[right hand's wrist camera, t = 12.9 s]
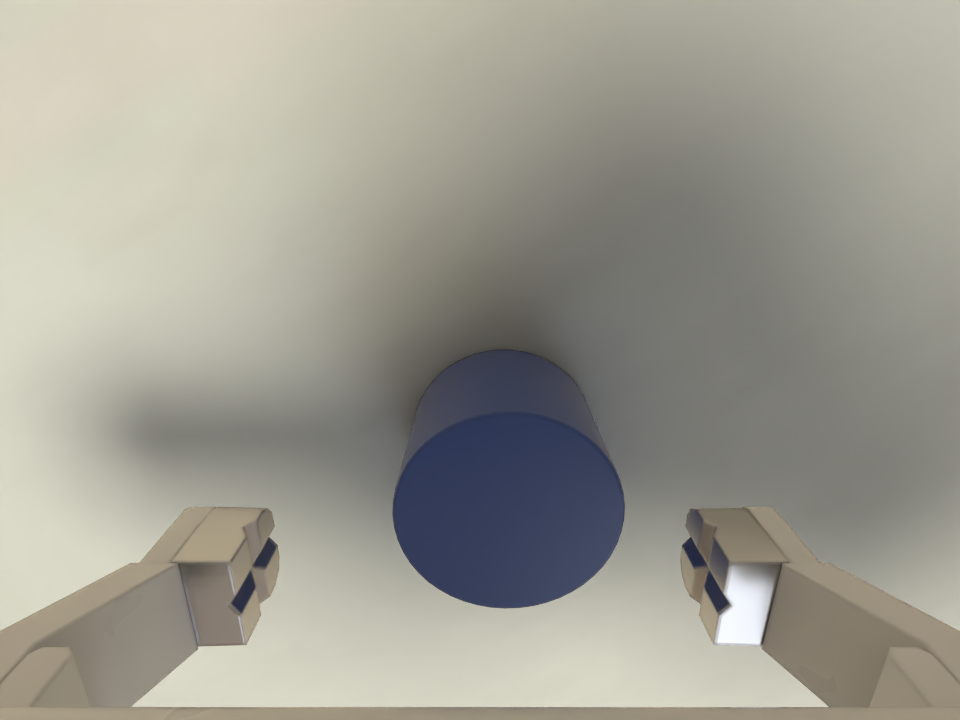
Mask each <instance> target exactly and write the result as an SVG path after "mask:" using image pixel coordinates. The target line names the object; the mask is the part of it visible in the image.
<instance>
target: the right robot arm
mask: <svg viewBox="0 0 960 720" xmlns="http://www.w3.org/2000/svg"><path fill="white" fill-rule="evenodd" d="M274 527H275V526H274V521H273V516H272V512H271V511H270V510H269V509H268V508H244V507H217V508H216V507H191V508H188V509H185V510H184V511H183V513H182V514H181V515H180V516H179V517H178V518H177V519H176V521H175V522H174V523H173V524H172V525H171V526H170V528H169V529H168V530H167V531H166V532H165V533H164V535H163V536H162V537H161V538H160V539H159V540H158V542H157V543H156V544H155V545H154V546H153V547H152V549H151V550H150V551H149V552H148V553H147V554H146V556H145V557H144V558H143V559H142V560H141V561H140V563H130V564H128V565H126V566H124V567H122V568H120V569H118V570H116V571H115V572H113V573H111V574H109V575H107V576H105V577H103V578H101V579H99V580H97V581H95V582H93V583H92V584H90V585H88V586H86V587H84V588H82V589H80V590H78V591H76V592H74V593H72V594H70V595H68V596H67V597H65V598H63V599H61V600H59V601H57V602H55V603H53V604H51V605H49V606H47V607H45V608H44V609H42V610H40V611H38V612H36V613H34V614H32V615H30V616H28V617H26V618H24V619H22V620H21V621H19V622H17V623H15V624H13V625H11V626H9V627H7V628H5V629H3V630H1V631H0V720H960V631H958V630H956V629H954V628H953V627H951V626H949V625H947V624H945V623H943V622H941V621H939V620H937V619H935V618H933V617H932V616H930V615H928V614H926V613H924V612H922V611H920V610H918V609H916V608H914V607H912V606H910V605H909V604H907V603H905V602H903V601H901V600H899V599H897V598H895V597H893V596H891V595H889V594H888V593H886V592H884V591H882V590H880V589H878V588H876V587H874V586H872V585H870V584H868V583H866V582H865V581H863V580H861V579H859V578H857V577H855V576H853V575H851V574H849V573H847V572H845V571H844V570H842V569H840V568H838V567H836V566H834V565H832V564H830V563H820V561H819V560H818V559H817V558H816V557H815V556H814V554H813V553H812V552H811V551H810V550H809V549H808V547H807V546H806V545H805V544H804V543H803V542H802V540H801V539H800V538H799V537H798V536H797V535H796V534H795V532H794V531H793V530H792V529H791V528H790V527H789V525H788V524H787V523H786V522H785V521H784V520H783V518H782V517H781V516H780V515H779V514H778V513H777V511H776V510H775V509H773V508H771V507H743V508H700V509H690V511H689V513H688V515H687V520H686V525H685V527H686V529H687V530H688V532H689V534H690V536H691V537H690V538H689V539H688V540H687V541H686V542H685V543H684V544H683V545H682V552H681V570H682V577H683V580H684V584H685V587H686V589H687V591H688V593H689V595H690V597H692V598H693V599H695V600H696V601H697V602H699V603H700V604H701V606H700V612H699V616H700V618H701V620H702V622H703V624H704V626H705V628H706V630H707V632H708V634H709V636H710V638H711V640H712V642H713V644H714V645H733V646H762V649H763V650H764V651H765V652H766V653H768V654H769V655H770V656H771V657H772V658H773V659H774V660H776V661H777V662H778V663H779V664H780V665H781V666H783V667H784V668H785V669H786V670H787V671H788V672H790V673H791V674H792V675H793V676H794V677H795V678H796V679H798V680H799V681H800V682H801V683H802V684H803V685H805V686H806V687H807V688H808V689H809V690H810V691H812V692H813V693H814V694H815V695H816V696H817V697H819V698H820V699H821V700H822V701H823V702H824V703H825V704H827V705H828V706H829V707H131V706H132V705H134V704H135V703H136V702H137V701H138V700H139V699H140V698H142V697H143V696H144V695H145V694H146V693H147V692H149V691H150V690H151V689H152V688H153V687H154V686H156V685H157V684H158V683H159V682H160V681H161V680H163V679H164V678H165V677H166V676H167V675H168V674H170V673H171V672H172V671H173V670H174V669H175V668H176V667H178V666H179V665H180V664H181V663H182V662H183V661H185V660H186V659H187V658H188V657H189V656H190V655H192V654H193V653H194V652H195V651H196V650H197V649H198V646H226V645H246V644H247V642H248V640H249V638H250V636H251V634H252V632H253V630H254V628H255V626H256V624H257V622H258V620H259V618H260V616H261V612H260V606H259V604H260V603H261V602H263V601H264V600H265V599H267V598H268V597H270V595H271V593H272V591H273V589H274V586H275V584H276V580H277V575H278V571H279V551H278V545H277V544H276V543H275V542H274V541H273V540H272V539H271V538H270V537H269V536H270V534H271V532H272V530H273V528H274Z"/></svg>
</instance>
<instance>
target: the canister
mask: <svg viewBox="0 0 960 720" xmlns="http://www.w3.org/2000/svg"><path fill="white" fill-rule="evenodd" d="M624 511H625V503H624V494H623V489H622V485H621V482H620V479H619V476H618V474H617V472H616V470H615V467H614V465H613V463H612V460H611V458H610V456H609V453H608V451H607V449H606V447H605V444H604V442H603V440H602V437H601V435H600V433H599V431H598V428H597V426H596V424H595V421H594V419H593V417H592V414H591V412H590V410H589V408H588V405H587V403H586V401H585V399H584V396H583V394H582V393H581V391H580V389H579V388H578V386H577V385H576V384H575V382H574V381H573V380H572V379H571V378H570V376H568V375H567V374H566V373H565V372H564V371H563V370H562V369H560V368H559V367H557V366H556V365H554V364H553V363H551V362H549V361H547V360H545V359H543V358H541V357H539V356H536V355H533V354H530V353H526V352H521V351H513V350H492V351H487V352H481V353H478V354H474V355H471V356H468V357H466V358H464V359H462V360H459V361H457V362H456V363H454V364H453V365H451V366H449V367H448V368H447V369H445V370H444V371H443V372H442V373H440V374H439V375H438V376H437V377H436V378H435V379H434V381H433V382H432V383H431V384H430V385H429V387H428V388H427V390H426V391H425V393H424V395H423V397H422V399H421V401H420V403H419V406H418V409H417V412H416V415H415V419H414V423H413V426H412V430H411V433H410V437H409V441H408V444H407V448H406V452H405V455H404V459H403V463H402V466H401V470H400V473H399V477H398V481H397V484H396V488H395V493H394V498H393V522H394V528H395V532H396V535H397V539H398V541H399V543H400V546H401V548H402V550H403V552H404V554H405V555H406V557H407V559H408V560H409V562H410V563H411V564H412V566H413V567H414V568H415V569H416V570H417V572H418V573H419V574H420V575H421V576H423V577H424V578H425V579H426V580H427V581H428V582H429V583H431V584H432V585H434V586H435V587H436V588H438V589H439V590H441V591H443V592H445V593H446V594H448V595H450V596H452V597H455V598H457V599H460V600H462V601H465V602H468V603H472V604H475V605H480V606H486V607H492V608H522V607H529V606H535V605H539V604H543V603H547V602H550V601H552V600H555V599H558V598H560V597H562V596H564V595H566V594H568V593H571V592H572V591H574V590H576V589H577V588H579V587H580V586H582V585H583V584H585V583H586V582H587V581H588V580H589V579H591V578H592V577H593V576H594V575H595V574H596V573H597V572H598V571H599V570H600V569H601V568H602V567H603V566H604V564H605V563H606V561H607V560H608V559H609V557H610V556H611V554H612V552H613V550H614V549H615V547H616V545H617V542H618V540H619V537H620V534H621V531H622V526H623V521H624Z"/></svg>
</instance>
